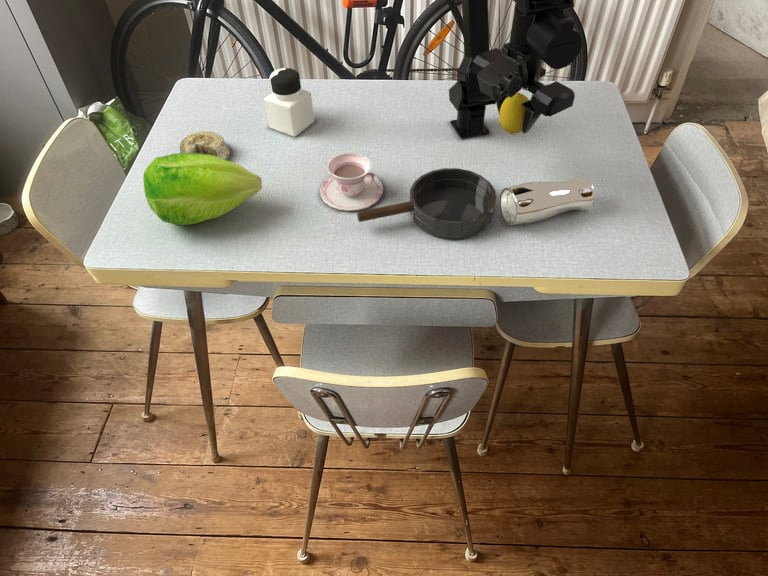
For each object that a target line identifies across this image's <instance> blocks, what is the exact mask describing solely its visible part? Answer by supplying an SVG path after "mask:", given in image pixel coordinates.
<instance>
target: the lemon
mask: <svg viewBox="0 0 768 576" xmlns="http://www.w3.org/2000/svg"><path fill="white" fill-rule="evenodd" d="M529 100H530V99H529V97H528V96H527V95H525V94H524V93H521V92H517V93H516V94H515V95H514V96H513V97H511V98H510V97H507V98H506V99H505V100H504V102H503V104H502V106H501V108H500V112H499V113H498V116H499V117H498V120H499V121H498V122H499V124H500V127H501V129H503V131H505V132H507V133H509V134H510V135H514V134H519V133H521V132H522V128H523V121H524V115H525V108H524V107H523V106H522V105H521V104H522V103H524V102H526V101H529Z"/></svg>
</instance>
